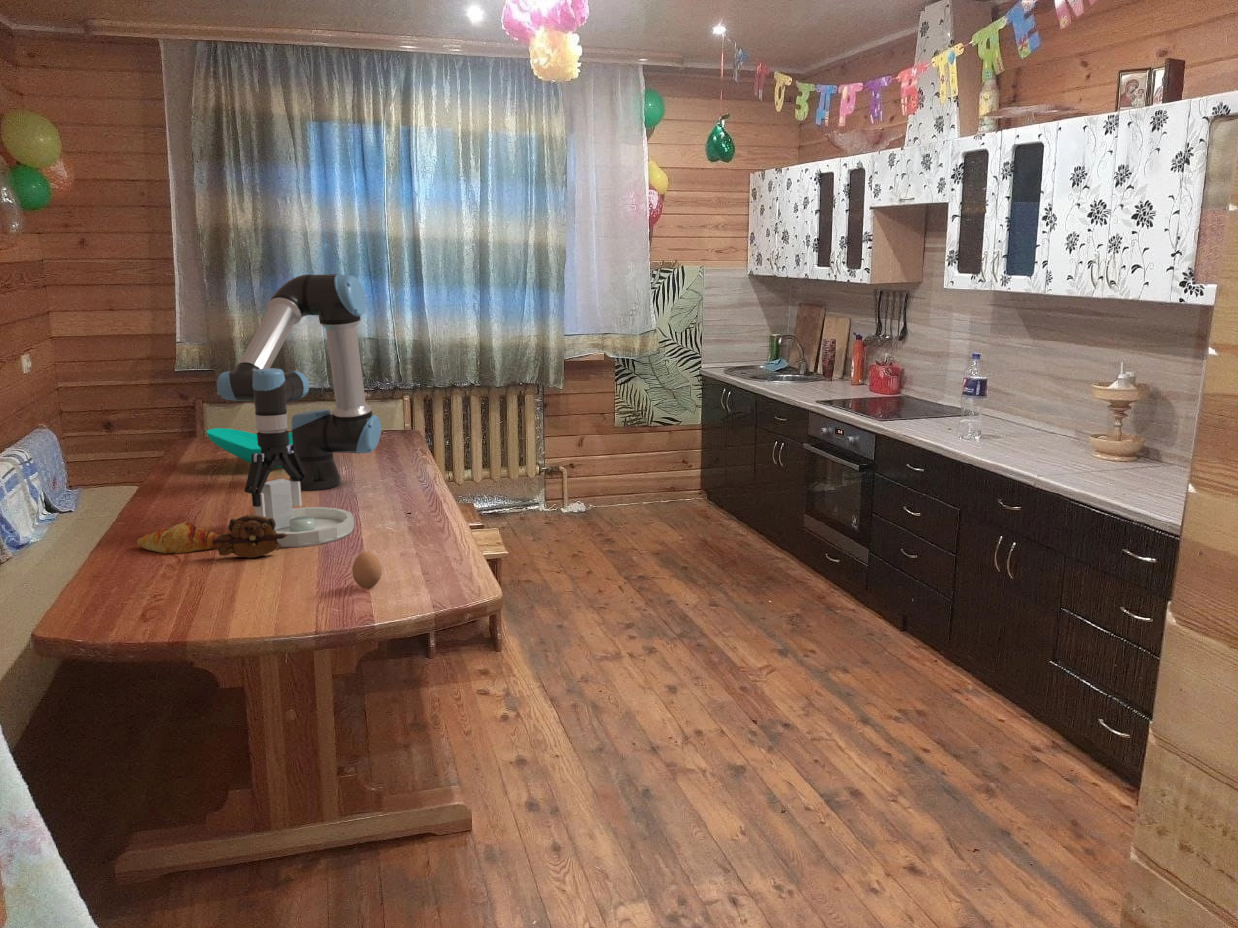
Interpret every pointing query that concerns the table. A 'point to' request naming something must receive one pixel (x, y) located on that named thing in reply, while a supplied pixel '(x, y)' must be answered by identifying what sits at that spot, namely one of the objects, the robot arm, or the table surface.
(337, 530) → the ring tray
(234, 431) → the table top decor
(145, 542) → the croissant
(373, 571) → the egg
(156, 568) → the table surface
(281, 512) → the skincare box
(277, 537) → the wooden carving
